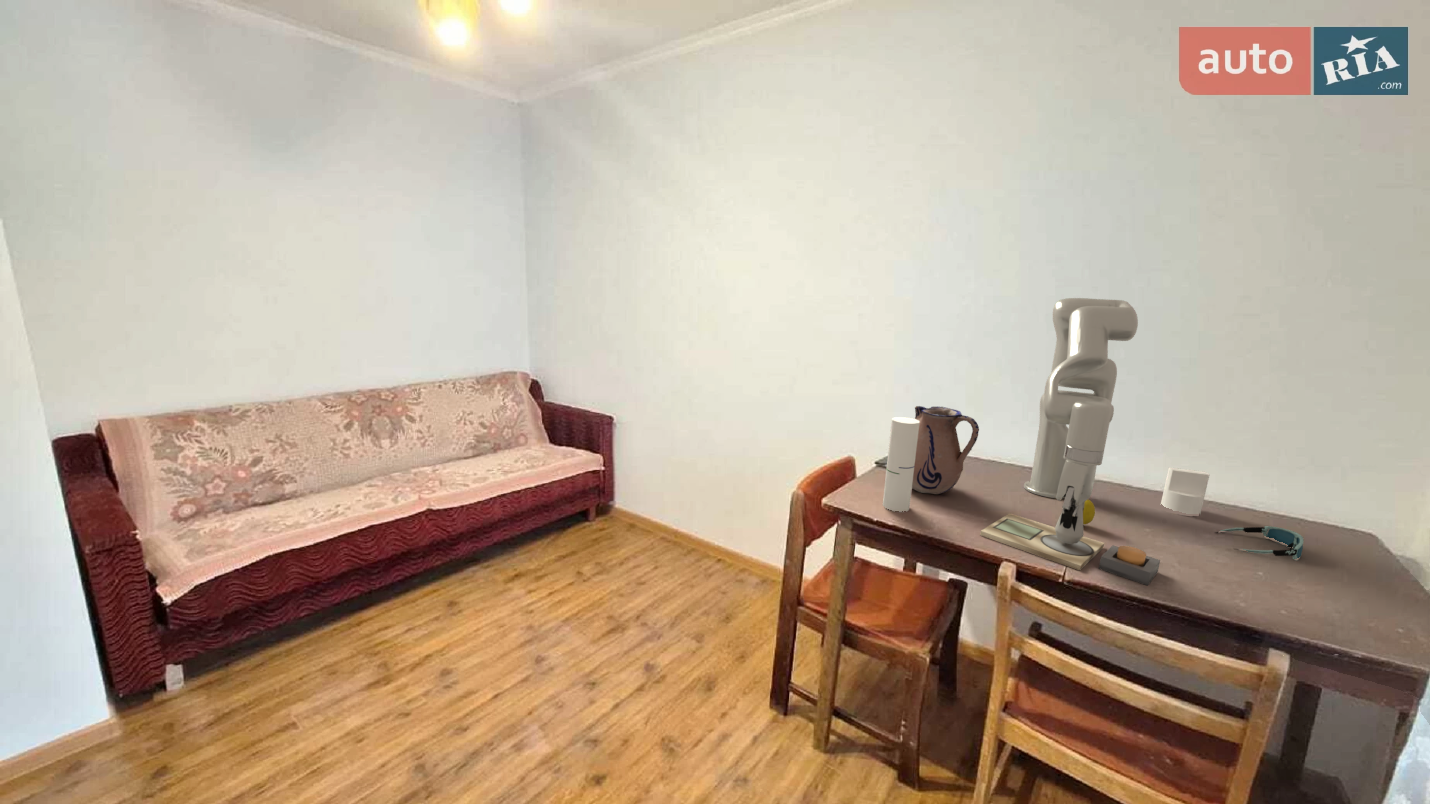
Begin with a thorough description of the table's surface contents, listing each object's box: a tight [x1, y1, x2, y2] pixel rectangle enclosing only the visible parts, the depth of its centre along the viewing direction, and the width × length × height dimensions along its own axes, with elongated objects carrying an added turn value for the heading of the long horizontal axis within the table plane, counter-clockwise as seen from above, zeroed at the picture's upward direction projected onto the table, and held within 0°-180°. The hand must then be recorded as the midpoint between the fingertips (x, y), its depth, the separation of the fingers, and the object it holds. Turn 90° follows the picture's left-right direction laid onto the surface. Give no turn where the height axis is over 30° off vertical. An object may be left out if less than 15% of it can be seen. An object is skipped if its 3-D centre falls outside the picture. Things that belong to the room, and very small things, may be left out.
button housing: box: [1098, 544, 1161, 586], centre depth 125 cm, size 9×9×3 cm
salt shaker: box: [1054, 494, 1084, 544], centre depth 133 cm, size 6×6×13 cm
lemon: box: [1083, 499, 1096, 525], centre depth 148 cm, size 6×6×8 cm
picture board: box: [979, 512, 1105, 571], centre depth 139 cm, size 18×22×1 cm
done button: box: [1117, 545, 1147, 567], centre depth 125 cm, size 5×5×2 cm
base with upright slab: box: [1160, 467, 1210, 514], centre depth 161 cm, size 9×9×12 cm
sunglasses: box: [1220, 525, 1305, 560], centre depth 141 cm, size 14×15×5 cm
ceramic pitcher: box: [912, 405, 980, 495], centre depth 168 cm, size 18×21×25 cm
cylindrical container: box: [882, 416, 920, 513], centre depth 154 cm, size 7×7×25 cm
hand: (1069, 527), depth 134 cm, fingers closed on salt shaker, 3 cm apart
